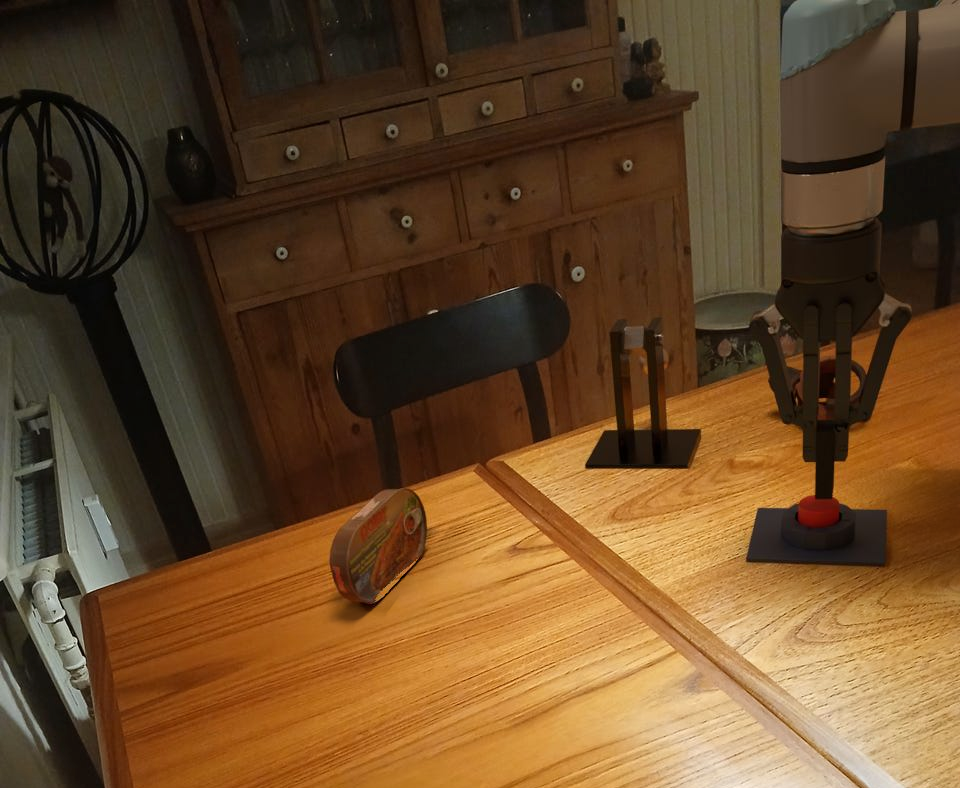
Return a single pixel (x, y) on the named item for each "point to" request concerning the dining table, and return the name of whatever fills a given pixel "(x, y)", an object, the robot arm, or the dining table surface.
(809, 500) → the button
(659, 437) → the bracket
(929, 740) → the dining table surface
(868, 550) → the button box
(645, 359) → the lever
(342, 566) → the tin
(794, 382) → the pottery mug
